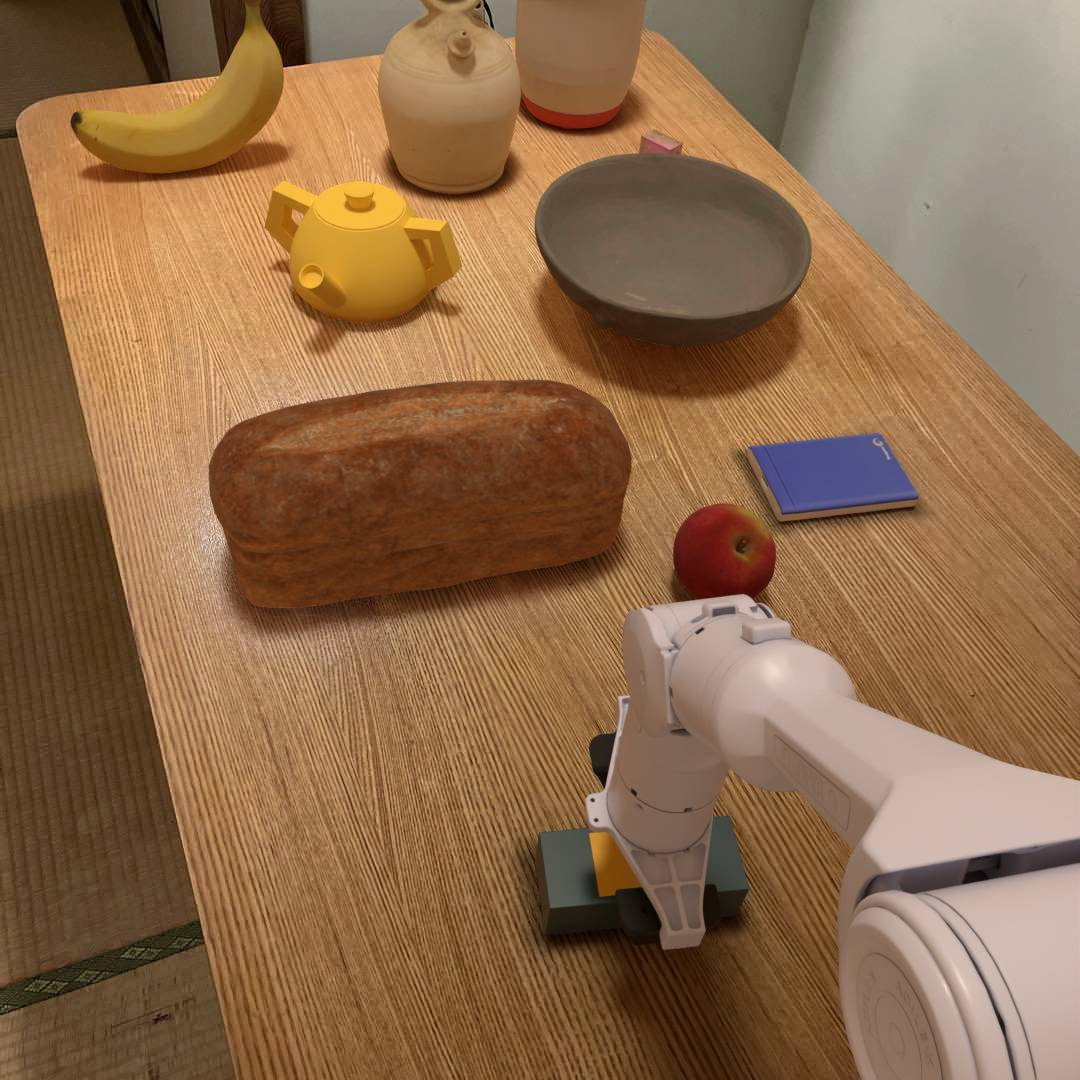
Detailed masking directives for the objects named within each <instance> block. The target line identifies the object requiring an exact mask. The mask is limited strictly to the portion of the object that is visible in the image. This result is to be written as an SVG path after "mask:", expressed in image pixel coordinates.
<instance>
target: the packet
mask: <svg viewBox="0 0 1080 1080" xmlns="http://www.w3.org/2000/svg"><path fill="white" fill-rule="evenodd" d="M534 858H535V859H534V865H535V873H536V880H537V881H536V882H537V889H538V896H539V902H540V911H541V918H542V925H543V933H544V934H543V935H544V936H555V935H566V934H574V933H575V934H576V933H584V932H594V931H595V932H596V931H604V930H605V931H606V930H614V929H615V930H616V929H623V927H622V925H621V921H620V917H619V911H618V906H617V900H616V895H615V891H616V890H617V889H627V888H637V887H642V886H641V884H640V883H639V881H638V879H637V878H636V876H635V874H634V873H633V871H632V869H631V868H630V866H629V864H628V863H627V861H626V859H625V857H624V856H623V854H622V852H621V851H620V849H619V847H618V846H617V844H616V842H615V841H614V839H613V837H612V836H611V835H610V834H609V833H606V832H600V833H597V832H593V831H592V830H590V829H589V827H585V828H573V829H563V830H554V831H553V830H551V831H541V832H538V838H537V845H536V851H535V857H534ZM707 884H715V885H716V887H717V891H718V895H719V899H720V904H721V908H722V916H721V919H722V918H732V917H737V915H738V912H739V911H740V909H741V906H742V905H743V903H744V901H745V899H746V897H747V896H748V893H749V891H750V885H749V880H748V878H747V873H746V870H745V867H744V863H743V859H742V856H741V851H740V848H739V844H738V841H737V837H736V832H735V829H734V825H733V822H732V818H731V816H730V815H720V816H719V815H718V816H713V822H712V830H711V838H710V846H709V854H708V862H707V870H706V878H705V885H707Z"/></svg>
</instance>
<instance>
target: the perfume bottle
mask: <svg viewBox="0 0 1080 1080" xmlns="http://www.w3.org/2000/svg"><path fill="white" fill-rule="evenodd" d="M683 145H684V142H681V141H680V140H678V139H676V138H674V137H671V136H669V135H667V134H665V133H663V132H660V131H659V130H658V129H652V130H650V131H648V132H646V133H645V134H642V135H641V136H640V142H639V149H638V153H671V154H680V155H682V151H683Z"/></svg>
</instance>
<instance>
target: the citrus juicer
mask: <svg viewBox="0 0 1080 1080" xmlns="http://www.w3.org/2000/svg"><path fill="white" fill-rule="evenodd" d="M646 6H647V0H516V11H515V12H516V13H515V14H516V15H515V32H514V33H515V35H514V55H515V56H514V58H515V60H516V63H517V67H518V71H519V76H520V86H521V97H522V99H523V102H524V104H525V107H526V109H527V111H528V112H529V113H530V114H531V115H532V116H533V117H534V118H536V119H538V120H539V121H542V122H544V123H546V124H549V125H552V126H556V127H559V128H561V129H563V130H572V129H590V128H591V129H592V128H596V127H600V126H604V125H605V124H607V123H609V122H611V121H612V120H613V119H614V118H616V116H617V114H618V113H619V112H620V109H621V107H622V105H623V104H624V101H626V96H627V93H628V90H629V88H630V86H631V84H632V83H633V82H632V81H633V78H634V74H635V72H636V69H637V64H638V61H639V60H638V59H639V56H640V55H639V54H640V49H641V41H642V34H643V29H644V21H645V13H646Z"/></svg>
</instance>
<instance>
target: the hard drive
mask: <svg viewBox="0 0 1080 1080" xmlns="http://www.w3.org/2000/svg"><path fill="white" fill-rule="evenodd" d="M746 457H747V461H748V462H749V465H750V467H751V469H752V471H753V473H754V475H755V477H756V479H757V481H758V483H759V485H760V487H761V489H762V491H763V494H764V495H765V498H766V499H767V501H768V504H769V506H770V508H771V510H772V512H773V514H774V516H775V518H776V520H777V521H778V522H779V523H781V522H791V521H800V520H808V519H818V518H825V517H826V518H827V517H834V516H842V515H851V514H859V513H866V512H867V513H869V512H877V511H883V510H892V509H902V508H908V507H909V508H910V507H915V506H916V504H917V503H918V502H919V501H918V500H919V493H918V491H917V489H916V488H915V486H914V484H913V482H912V481H911V480H910V477H909V476H908V475H907V473H906V471H905V469H904V468H903V466H902V465H901V463H900V461H899V460H898V459H897V457H896V455H895V454H894V452H893V450H892V449H891V447H890V445H889V444H888V442H887V440H886V439H885V437H884V435H883V434H882V433H880V432H873V433H872V432H871V433H863V434H862V433H861V434H856V435H855V434H854V435H844V436H835V437H826V438H825V437H824V438H816V439H814V438H813V439H804V440H795V441H786V442H777V443H767V444H758V445H757V444H756V445H749V447H748V450H747V453H746Z"/></svg>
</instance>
